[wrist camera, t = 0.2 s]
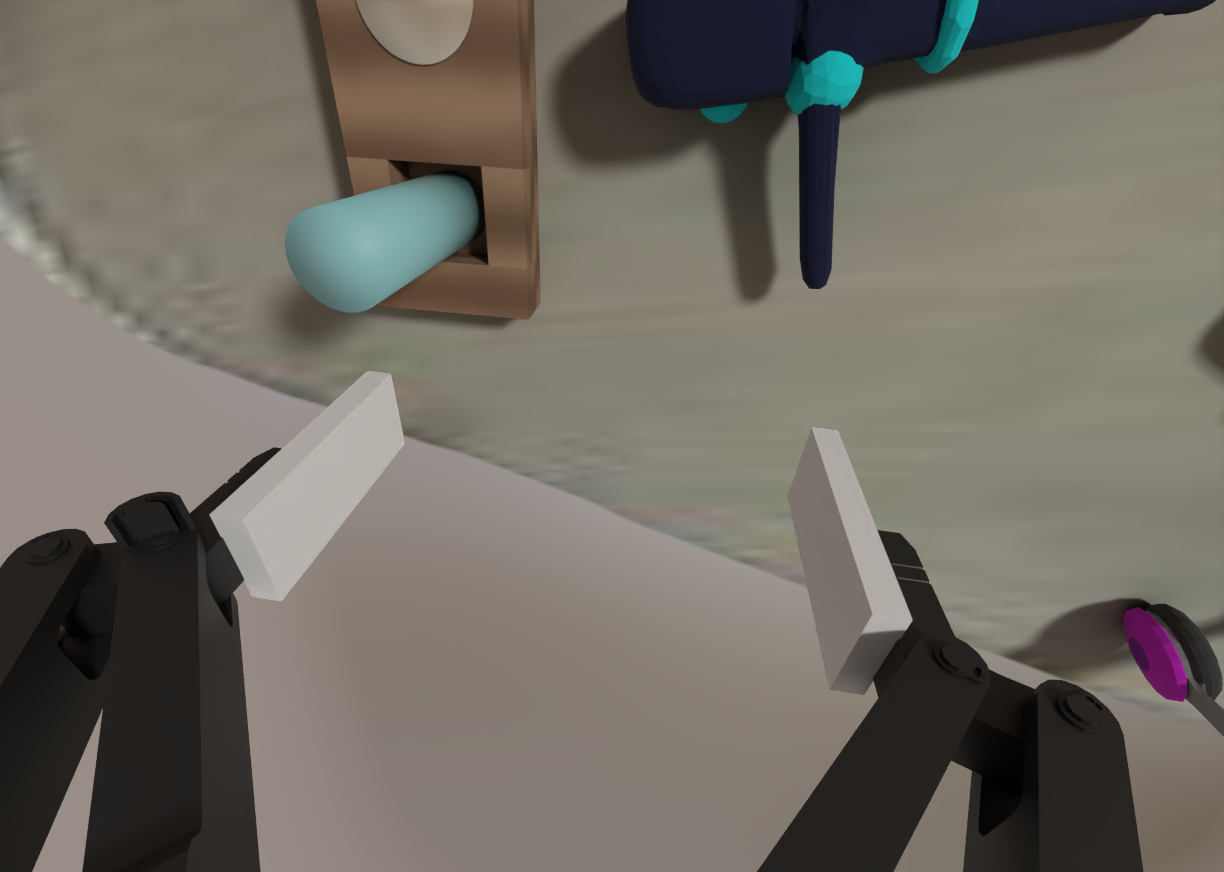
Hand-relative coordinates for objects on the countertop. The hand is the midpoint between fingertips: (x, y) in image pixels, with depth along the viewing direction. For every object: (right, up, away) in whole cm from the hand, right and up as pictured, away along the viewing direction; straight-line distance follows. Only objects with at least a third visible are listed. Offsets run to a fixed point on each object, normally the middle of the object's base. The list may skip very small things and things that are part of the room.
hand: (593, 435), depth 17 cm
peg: (-11, +17, +22) cm, 30 cm away
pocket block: (-11, +22, +20) cm, 31 cm away
